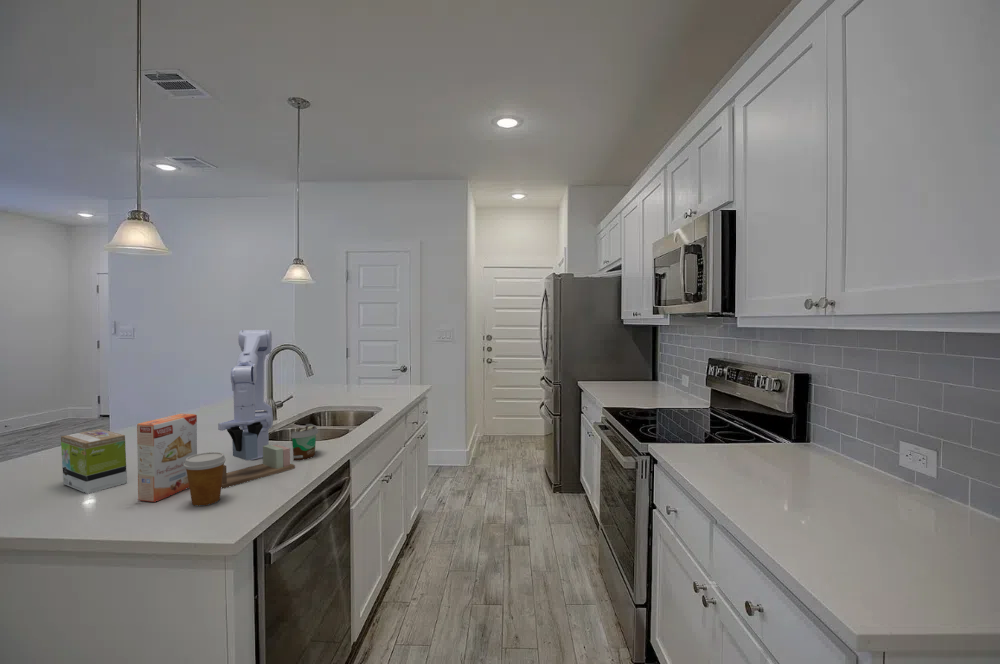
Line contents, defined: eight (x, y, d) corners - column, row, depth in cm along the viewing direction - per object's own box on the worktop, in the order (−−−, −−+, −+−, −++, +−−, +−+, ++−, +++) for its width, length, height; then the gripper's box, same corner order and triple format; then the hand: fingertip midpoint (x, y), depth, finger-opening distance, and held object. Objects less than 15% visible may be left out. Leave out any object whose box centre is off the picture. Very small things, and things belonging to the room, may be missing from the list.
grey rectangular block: (232, 455, 148) (232, 433, 147) (244, 453, 150) (243, 431, 150) (246, 460, 143) (245, 436, 143) (257, 457, 146) (257, 434, 146)
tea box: (61, 485, 139) (59, 435, 138) (102, 475, 148) (101, 427, 147) (86, 495, 132) (84, 441, 131) (128, 483, 141) (126, 433, 140)
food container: (309, 461, 161) (309, 432, 161) (291, 461, 161) (291, 432, 161) (324, 451, 173) (323, 423, 173) (307, 451, 173) (306, 423, 173)
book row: (263, 464, 155) (262, 446, 155) (276, 460, 159) (276, 442, 159) (276, 469, 151) (276, 450, 150) (290, 465, 154) (289, 446, 154)
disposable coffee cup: (235, 496, 131) (234, 453, 130) (204, 510, 121) (203, 463, 121) (207, 493, 133) (206, 450, 133) (175, 506, 124) (174, 460, 124)
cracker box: (156, 503, 126) (153, 424, 125) (137, 501, 127) (134, 423, 127) (199, 484, 140) (197, 413, 139) (182, 483, 141) (180, 412, 140)
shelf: (206, 481, 142) (206, 461, 142) (277, 462, 160) (277, 444, 160) (223, 488, 137) (222, 467, 136) (294, 468, 154) (294, 449, 154)
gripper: (225, 410, 138) (227, 457, 138) (274, 402, 149) (275, 445, 150) (214, 407, 142) (215, 453, 142) (262, 400, 154) (263, 442, 154)
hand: (245, 449), depth 146 cm, fingers closed on grey rectangular block, 3 cm apart
